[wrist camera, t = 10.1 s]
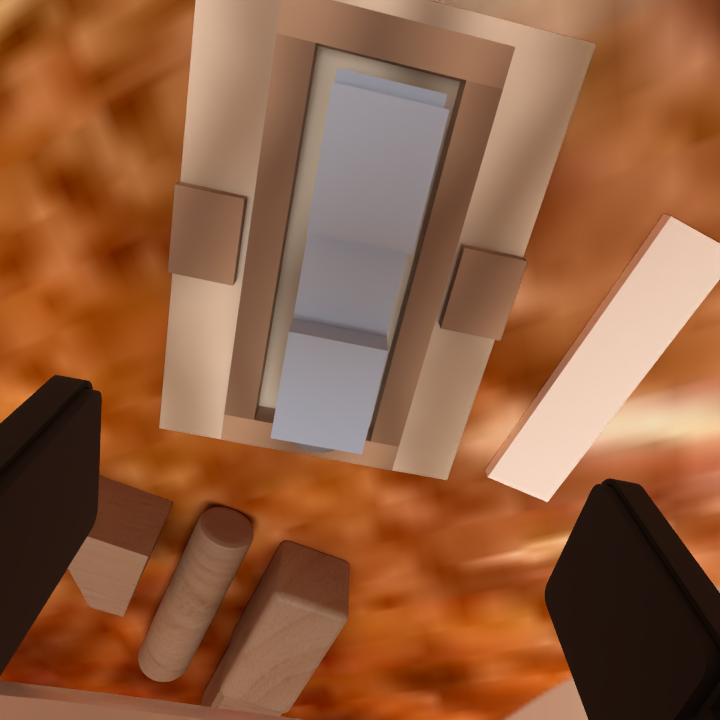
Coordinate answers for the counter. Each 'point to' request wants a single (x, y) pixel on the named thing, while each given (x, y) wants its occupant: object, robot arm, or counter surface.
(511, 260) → the jig
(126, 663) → the counter surface
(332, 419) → the notched grey stepped bar
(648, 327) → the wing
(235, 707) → the wooden block set
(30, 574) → the robot arm
